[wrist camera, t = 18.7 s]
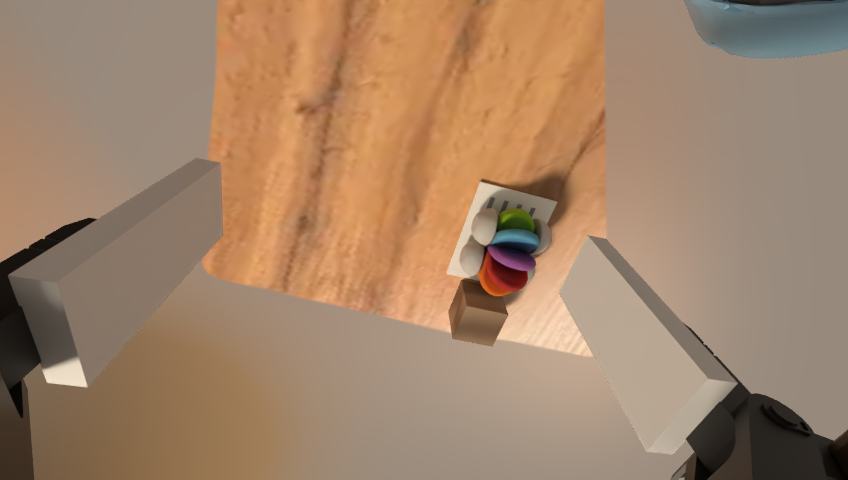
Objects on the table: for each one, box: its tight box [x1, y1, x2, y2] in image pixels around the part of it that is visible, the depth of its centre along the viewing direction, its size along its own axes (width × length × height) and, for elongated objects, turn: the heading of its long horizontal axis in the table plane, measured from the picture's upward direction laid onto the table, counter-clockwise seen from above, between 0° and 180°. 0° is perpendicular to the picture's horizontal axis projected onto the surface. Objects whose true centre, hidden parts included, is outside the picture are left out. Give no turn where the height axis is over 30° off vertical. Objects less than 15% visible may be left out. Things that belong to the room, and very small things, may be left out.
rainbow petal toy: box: [459, 208, 551, 296], centre depth 40 cm, size 8×10×7 cm
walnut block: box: [448, 281, 508, 346], centre depth 46 cm, size 5×5×5 cm
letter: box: [446, 181, 557, 281], centre depth 44 cm, size 12×9×1 cm
